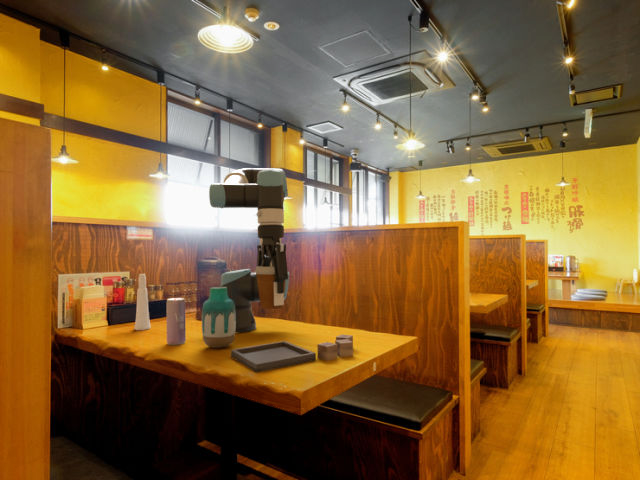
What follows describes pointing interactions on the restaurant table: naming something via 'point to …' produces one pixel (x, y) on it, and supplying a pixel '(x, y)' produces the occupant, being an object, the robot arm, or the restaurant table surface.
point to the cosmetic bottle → (142, 306)
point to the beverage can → (176, 321)
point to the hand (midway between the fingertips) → (271, 303)
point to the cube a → (327, 351)
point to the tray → (272, 356)
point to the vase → (218, 319)
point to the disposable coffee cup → (266, 287)
